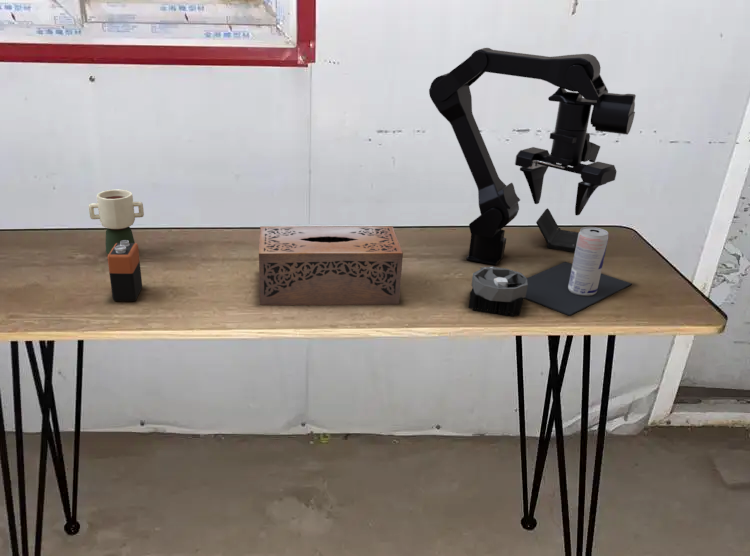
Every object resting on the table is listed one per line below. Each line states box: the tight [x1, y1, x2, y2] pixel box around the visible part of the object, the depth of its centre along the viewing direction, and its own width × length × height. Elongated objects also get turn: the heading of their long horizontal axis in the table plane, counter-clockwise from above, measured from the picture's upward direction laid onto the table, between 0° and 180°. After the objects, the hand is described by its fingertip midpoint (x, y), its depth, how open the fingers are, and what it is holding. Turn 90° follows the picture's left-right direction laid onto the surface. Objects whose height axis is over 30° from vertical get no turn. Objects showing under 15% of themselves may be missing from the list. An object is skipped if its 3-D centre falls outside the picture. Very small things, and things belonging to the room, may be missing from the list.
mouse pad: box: [524, 261, 633, 317], centre depth 151 cm, size 15×22×1 cm
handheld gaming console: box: [535, 207, 580, 253], centre depth 172 cm, size 12×7×10 cm
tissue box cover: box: [258, 225, 404, 306], centre depth 147 cm, size 26×14×10 cm, turn 92°
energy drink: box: [568, 226, 609, 296], centre depth 146 cm, size 5×5×12 cm
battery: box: [107, 240, 143, 302], centre depth 143 cm, size 4×7×10 cm, turn 179°
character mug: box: [88, 188, 145, 255], centre depth 160 cm, size 11×7×13 cm, turn 100°
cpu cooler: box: [468, 265, 528, 318], centre depth 143 cm, size 10×6×10 cm
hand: (556, 209), depth 152 cm, fingers open, 9 cm apart
